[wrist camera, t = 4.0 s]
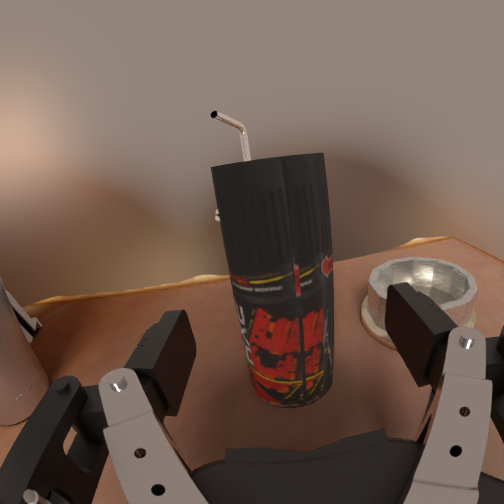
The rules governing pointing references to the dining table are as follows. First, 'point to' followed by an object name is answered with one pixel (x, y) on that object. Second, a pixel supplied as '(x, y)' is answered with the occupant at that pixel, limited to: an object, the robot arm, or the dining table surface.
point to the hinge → (24, 319)
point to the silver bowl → (422, 280)
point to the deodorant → (281, 272)
